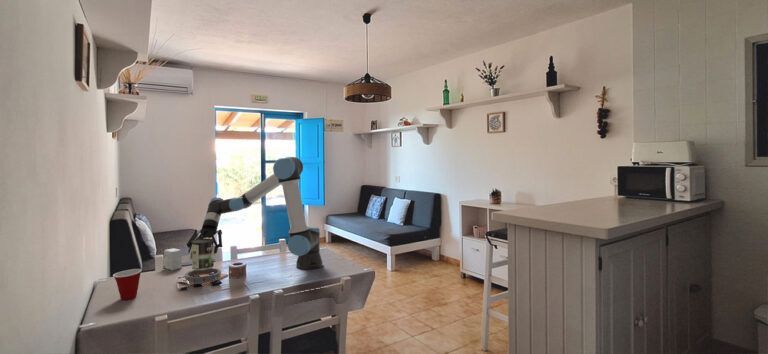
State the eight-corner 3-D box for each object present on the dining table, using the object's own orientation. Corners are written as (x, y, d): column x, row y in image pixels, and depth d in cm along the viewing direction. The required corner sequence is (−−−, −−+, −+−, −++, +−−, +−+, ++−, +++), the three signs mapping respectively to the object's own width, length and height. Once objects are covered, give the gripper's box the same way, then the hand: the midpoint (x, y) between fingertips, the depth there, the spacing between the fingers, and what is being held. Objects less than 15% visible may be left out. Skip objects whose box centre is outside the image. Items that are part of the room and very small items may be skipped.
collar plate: (228, 276, 204) (228, 269, 203) (204, 286, 187) (204, 279, 187) (202, 272, 209) (202, 266, 208) (176, 282, 192) (176, 275, 192)
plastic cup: (122, 293, 176) (121, 268, 175) (147, 293, 177) (146, 268, 176) (107, 302, 165) (106, 275, 164) (133, 302, 166) (133, 275, 165)
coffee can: (217, 264, 203) (217, 238, 202) (208, 270, 192) (207, 243, 192) (198, 264, 203) (197, 238, 202) (187, 270, 193) (187, 242, 192)
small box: (182, 268, 216) (181, 249, 216) (172, 270, 212) (171, 251, 211) (174, 265, 221) (174, 247, 220) (164, 268, 216) (164, 249, 215)
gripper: (233, 226, 213) (225, 262, 198) (191, 226, 211) (179, 262, 196) (231, 218, 207) (222, 254, 193) (187, 218, 205) (175, 255, 190)
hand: (200, 258), depth 194 cm, fingers closed on coffee can, 10 cm apart
